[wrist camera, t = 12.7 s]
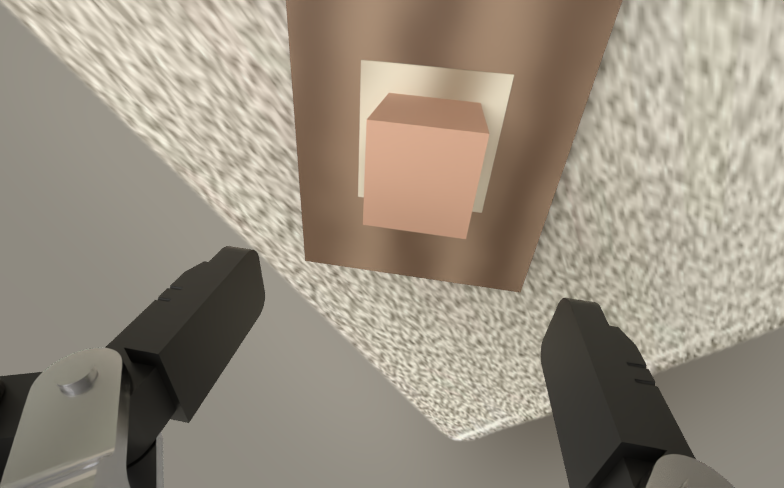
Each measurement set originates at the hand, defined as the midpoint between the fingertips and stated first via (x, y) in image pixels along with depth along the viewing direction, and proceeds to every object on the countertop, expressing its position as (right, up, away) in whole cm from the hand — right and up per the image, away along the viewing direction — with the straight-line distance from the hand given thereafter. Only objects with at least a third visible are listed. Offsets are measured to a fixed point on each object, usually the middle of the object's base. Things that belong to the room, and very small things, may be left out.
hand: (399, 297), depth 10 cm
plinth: (+2, +9, +14) cm, 17 cm away
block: (+2, +7, +11) cm, 14 cm away
